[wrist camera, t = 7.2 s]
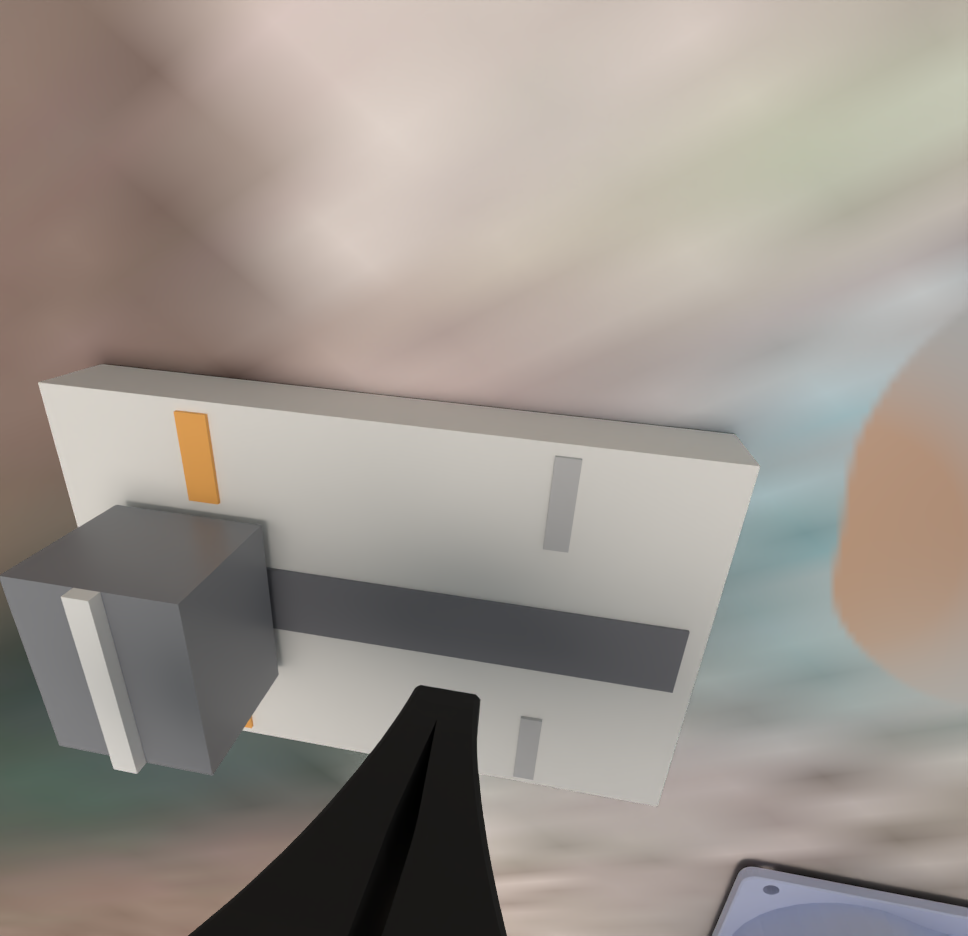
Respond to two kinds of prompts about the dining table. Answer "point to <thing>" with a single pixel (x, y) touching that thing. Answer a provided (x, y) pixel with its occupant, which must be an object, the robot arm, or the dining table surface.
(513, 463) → the console
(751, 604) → the dining table surface
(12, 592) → the fader cap
